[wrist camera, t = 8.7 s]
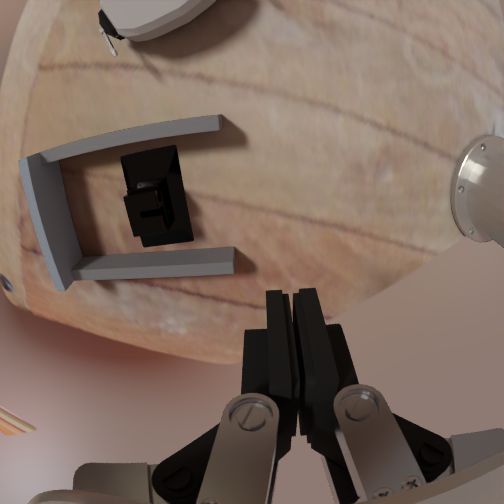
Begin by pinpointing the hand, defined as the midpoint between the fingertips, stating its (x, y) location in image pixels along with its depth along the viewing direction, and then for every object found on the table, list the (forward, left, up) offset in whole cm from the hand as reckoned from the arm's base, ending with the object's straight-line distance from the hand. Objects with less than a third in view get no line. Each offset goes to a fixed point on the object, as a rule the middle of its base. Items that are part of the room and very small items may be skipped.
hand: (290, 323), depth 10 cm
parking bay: (+12, 0, -18) cm, 21 cm away
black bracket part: (+10, 0, -19) cm, 21 cm away
